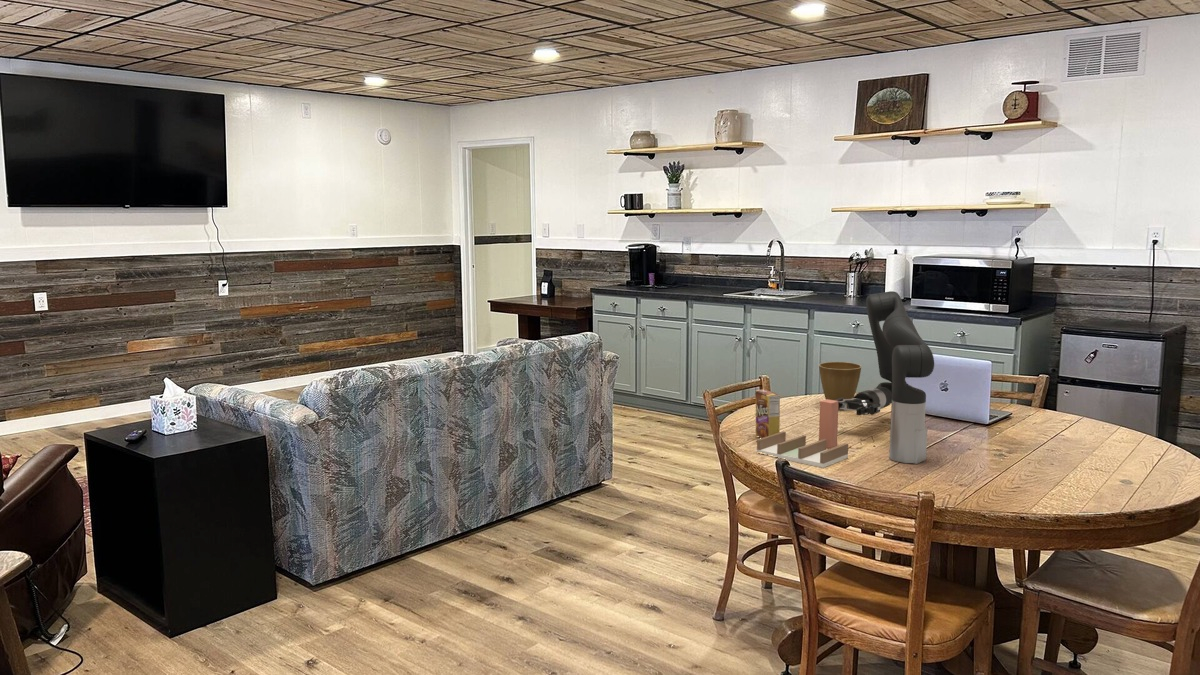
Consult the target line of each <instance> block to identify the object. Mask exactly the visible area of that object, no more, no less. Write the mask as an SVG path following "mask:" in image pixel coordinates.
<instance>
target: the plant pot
mask: <svg viewBox="0 0 1200 675" xmlns="http://www.w3.org/2000/svg"><path fill="white" fill-rule="evenodd" d="M818 368H819V376H820V382H821V387H822V390H823V396H824V398H825V399H824V400H826V399H828V400H835V399H839V398H842V397H843V398H845V399H852V398H854V396H855V395H856V394H857V393H856V391H857V389H858V387H859V386H858V385H859V382H860V377H861V372H862V365H861V364H859V363H854V362H846V361H826V362H822V363H821V362H820V363H819V364H818ZM841 407H843V406H841ZM847 408H849V407H848V405H847ZM838 411H844V410H843V409H839V410H838Z"/></svg>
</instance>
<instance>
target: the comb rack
mask: <svg viewBox="0 0 1200 675" xmlns="http://www.w3.org/2000/svg"><path fill="white" fill-rule="evenodd" d="M786 432H787V431H784V430H783V431H779V433H776V434H773V435H770V436H767V437H764V438H761V439H760V438H758V439H756V453H757V452H762V453H766V454H770V455H773V456H777V457H778V458H777V459H780V458H785V459H787V460H786V461H789V460H790V462H794V463H799V464H802V465H803V464H804V465H809V466H813V467H818V468H821V469H824V468H827V467H828V466H831V465H833V464H837V463H838V462H841V461H843V460H846V459H848V458H849V443H842V444H840V445H837V446H836V447H833V448H828V449H827V448H826V446H827V440H826V439H823V440H820V441H819V440H817V441H814V442H812V443H809V444H807V443H806V442H807V437H806V436H807V435H804V434H802V435H799V436H796V437H793V438H791V439H788V440H786V435H787V434H786Z"/></svg>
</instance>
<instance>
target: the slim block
mask: <svg viewBox="0 0 1200 675" xmlns="http://www.w3.org/2000/svg"><path fill="white" fill-rule="evenodd" d="M838 403H839V401H835V400H828V399H823V400H820V401H819V421H818V422H819V426H818V441H820V440H823V439H826V440H827V446H826V449H831V448H834V447H837V446H838V432H839V431H838V430H839V410H838Z"/></svg>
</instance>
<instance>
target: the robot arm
mask: <svg viewBox="0 0 1200 675" xmlns="http://www.w3.org/2000/svg"><path fill="white" fill-rule="evenodd" d="M865 303H866V305H865V306H866V311H867V312H866V313H867V318H868V322H869V327H870V330H871V334H872V335H871V336H872V339H873V343H874V346H875V350H876V351H875V352H876V355H877V363H878V371H879V375H880V376H879V377H881V378H882V379H884V380H886V381H884V382H880V383H879V384H878V385H877V386H876V387H874V388H869V389H866V390H862V391H860V392H857V393H855V396H854V398H852V399H845V398H843V397H842V398H839V399H835V401H839V403H838V411H840V410H839V409H843V410H842V411H853V412H856V415H857V416H862V415H864V416H867V415H871V416H873V415H876V414H879V413H880V412H881V410H882V409H884V408H887V407H889V406H891V407H890V408H891V410H890V411H891V412H890V430H889V431H890V433H889V436H890V437H889V456H888V457H889V459H890V460H891V461H894V462H898V463H903V464H921V463H922V462H924V461H926V460H927V444H928V443H927V442H928V428H927V427H926V426H925V425H926V424H925V423H926V407H927V406H926V402H927V394H926V392H925V391H924V390H923V389H921V388H917V387H914V386H913V385H910V384H909V383H907V382H906V378H908V379H909V378H918V379H919V378H920V379H921V378H926V377H929V376H931V375H932V373H933V372H934V368H935V358H934V355H933V352H932V349H931V348H930V346H929V345H928V344H927V342H926V341H924V339H922V337H921V335H920V334H919V333H918V331H917V329H916V326H915V324H914V322H913V321H912V320H911V318H910V316H909V315H908V313H907V310H906V308H905V305H904V303H903V300H902V298H901V296H900V294H899V293H898V292H897V291H885V292H884V291H883V292H878V293H873V294H869V295H867V297H866V301H865ZM880 322H883V324H882V328H881V325H880ZM847 405H848V407H849V408H847ZM841 406H843V407H841Z"/></svg>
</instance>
